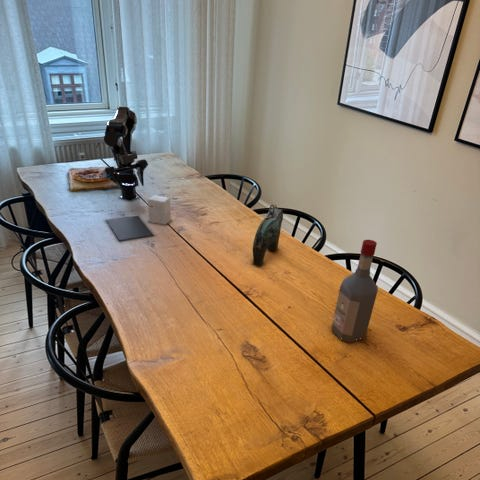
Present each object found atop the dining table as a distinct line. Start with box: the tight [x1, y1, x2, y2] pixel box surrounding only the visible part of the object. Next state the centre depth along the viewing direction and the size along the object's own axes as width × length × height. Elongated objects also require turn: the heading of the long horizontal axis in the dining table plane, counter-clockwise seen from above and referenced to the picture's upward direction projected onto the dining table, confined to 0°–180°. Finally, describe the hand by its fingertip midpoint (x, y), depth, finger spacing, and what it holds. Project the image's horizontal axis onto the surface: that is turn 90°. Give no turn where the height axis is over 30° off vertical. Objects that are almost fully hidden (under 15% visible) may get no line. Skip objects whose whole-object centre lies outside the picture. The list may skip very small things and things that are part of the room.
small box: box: [147, 194, 172, 226], centre depth 195 cm, size 8×6×10 cm
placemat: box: [106, 215, 154, 242], centre depth 190 cm, size 22×14×1 cm, turn 27°
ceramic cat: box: [252, 204, 284, 267], centre depth 170 cm, size 20×6×20 cm, turn 154°
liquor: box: [330, 239, 379, 344], centre depth 128 cm, size 9×9×30 cm
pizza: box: [67, 165, 118, 193], centre depth 237 cm, size 35×28×4 cm
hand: (133, 188), depth 191 cm, fingers open, 9 cm apart
